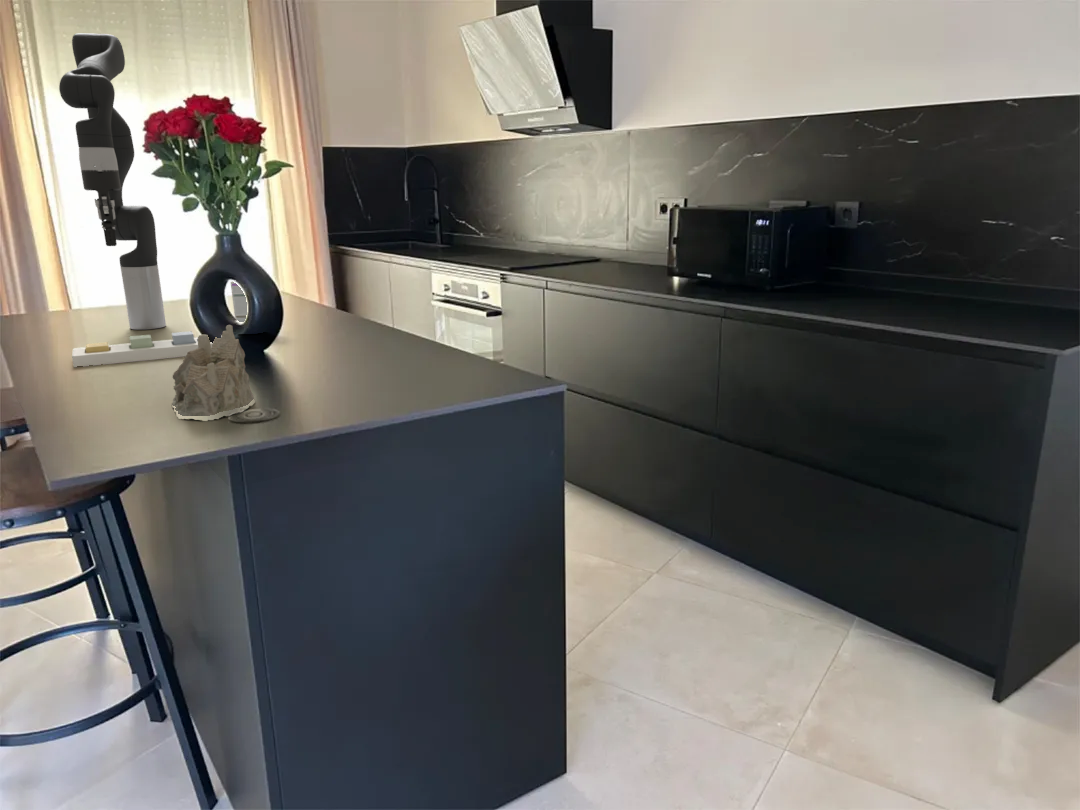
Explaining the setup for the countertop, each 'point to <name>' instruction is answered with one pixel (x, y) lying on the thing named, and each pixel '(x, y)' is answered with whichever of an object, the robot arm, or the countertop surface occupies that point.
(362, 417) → the countertop surface
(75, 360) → the button panel
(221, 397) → the ceramic cottage
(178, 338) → the slate button
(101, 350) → the ochre button
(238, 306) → the syrup box
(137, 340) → the sage button
